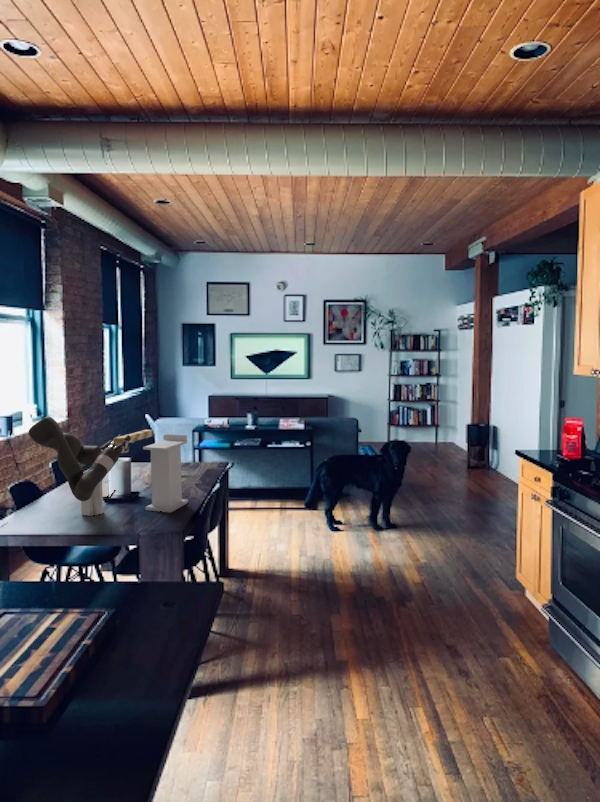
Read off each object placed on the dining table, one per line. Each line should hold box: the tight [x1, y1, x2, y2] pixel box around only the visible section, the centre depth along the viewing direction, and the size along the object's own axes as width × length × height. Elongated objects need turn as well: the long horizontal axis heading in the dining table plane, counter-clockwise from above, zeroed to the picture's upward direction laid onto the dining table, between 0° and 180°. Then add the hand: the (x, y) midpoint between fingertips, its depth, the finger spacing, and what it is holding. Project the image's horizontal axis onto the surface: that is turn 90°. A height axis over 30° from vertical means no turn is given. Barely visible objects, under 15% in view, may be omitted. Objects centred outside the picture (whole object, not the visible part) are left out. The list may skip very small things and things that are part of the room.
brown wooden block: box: [113, 429, 154, 445], centre depth 276 cm, size 26×4×3 cm, turn 163°
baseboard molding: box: [102, 480, 109, 497], centre depth 338 cm, size 31×3×12 cm
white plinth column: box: [142, 433, 189, 513], centre depth 305 cm, size 22×14×35 cm, turn 163°
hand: (124, 436), depth 269 cm, fingers closed on brown wooden block, 3 cm apart
